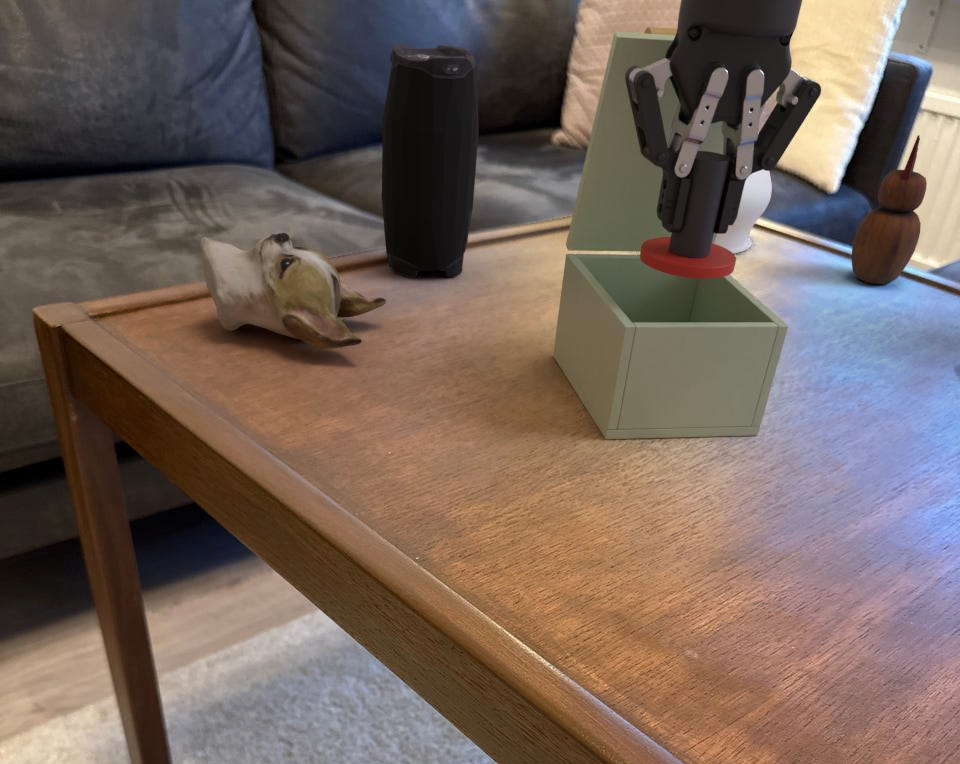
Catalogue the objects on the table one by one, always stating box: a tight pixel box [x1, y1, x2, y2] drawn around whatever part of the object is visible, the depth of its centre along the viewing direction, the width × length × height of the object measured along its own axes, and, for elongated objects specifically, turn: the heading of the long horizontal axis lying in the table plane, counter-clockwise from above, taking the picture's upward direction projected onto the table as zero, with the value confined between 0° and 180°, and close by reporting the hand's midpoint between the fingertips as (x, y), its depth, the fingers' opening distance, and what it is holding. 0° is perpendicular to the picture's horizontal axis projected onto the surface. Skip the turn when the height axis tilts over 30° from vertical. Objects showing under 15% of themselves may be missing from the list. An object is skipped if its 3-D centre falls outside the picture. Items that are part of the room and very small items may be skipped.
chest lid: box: [565, 26, 767, 253], centre depth 76 cm, size 16×13×5 cm
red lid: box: [639, 151, 737, 279], centre depth 71 cm, size 7×7×7 cm
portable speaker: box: [381, 43, 480, 279], centre depth 95 cm, size 9×9×20 cm
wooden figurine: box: [851, 134, 928, 285], centre depth 105 cm, size 7×6×15 cm
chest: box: [552, 253, 789, 440], centre depth 79 cm, size 16×13×9 cm
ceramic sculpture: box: [200, 232, 387, 350], centre depth 83 cm, size 11×9×15 cm
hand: (693, 228), depth 71 cm, fingers closed on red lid, 3 cm apart
